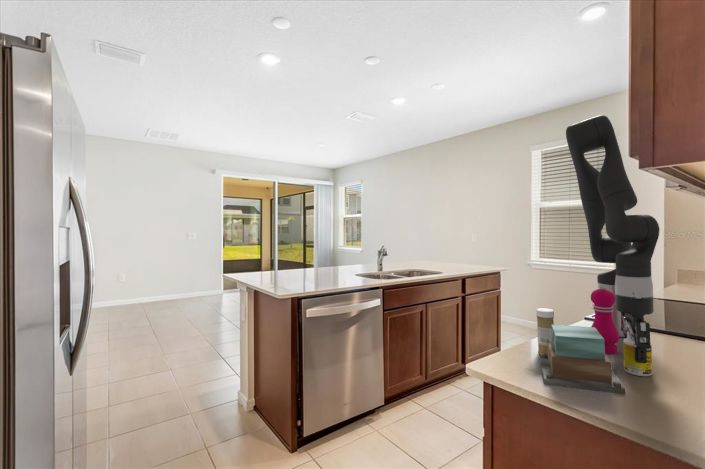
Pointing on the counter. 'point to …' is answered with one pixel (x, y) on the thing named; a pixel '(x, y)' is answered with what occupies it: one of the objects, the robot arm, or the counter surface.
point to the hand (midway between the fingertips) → (635, 356)
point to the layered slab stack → (579, 360)
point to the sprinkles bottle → (544, 328)
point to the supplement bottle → (630, 363)
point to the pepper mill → (605, 317)
